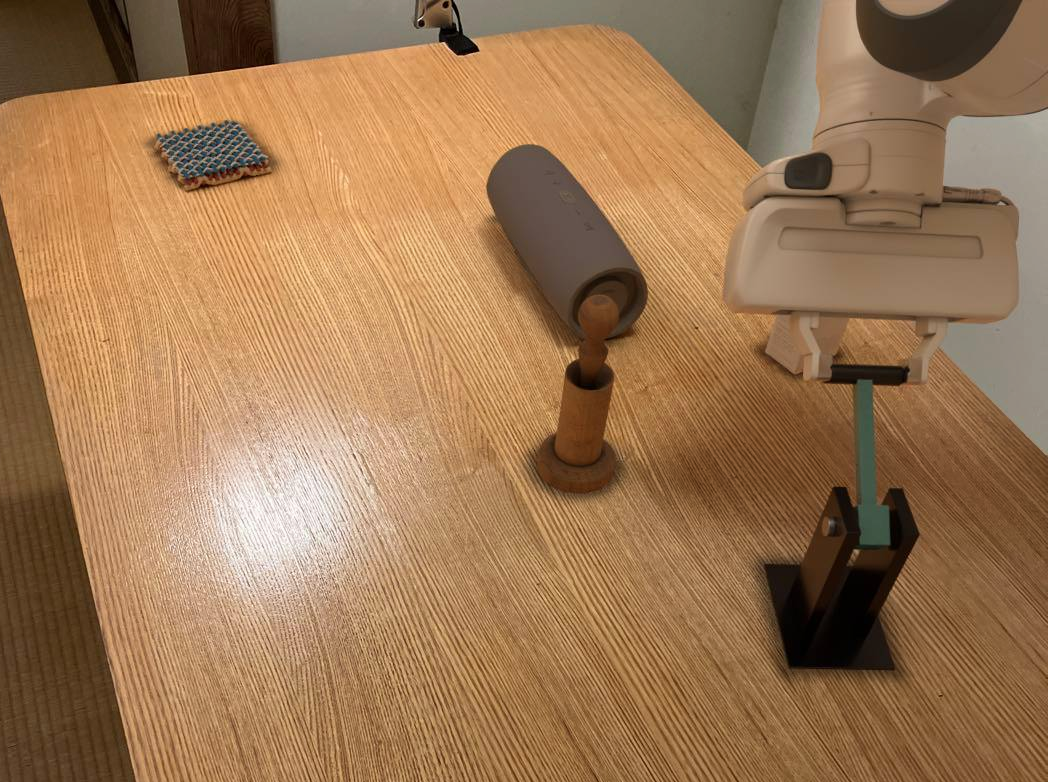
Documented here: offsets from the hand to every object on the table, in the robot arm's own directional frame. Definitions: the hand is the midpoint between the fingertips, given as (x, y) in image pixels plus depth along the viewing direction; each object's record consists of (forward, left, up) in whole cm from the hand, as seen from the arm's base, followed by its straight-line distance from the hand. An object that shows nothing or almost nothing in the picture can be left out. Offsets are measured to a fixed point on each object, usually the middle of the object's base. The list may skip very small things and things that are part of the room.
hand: (864, 382), depth 76 cm
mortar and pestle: (+19, +6, -17) cm, 26 cm away
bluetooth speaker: (+36, -16, -17) cm, 43 cm away
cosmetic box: (+11, -21, -17) cm, 30 cm away
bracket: (-5, +7, -17) cm, 19 cm away
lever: (-2, +3, -4) cm, 5 cm away
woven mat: (+79, -9, -17) cm, 81 cm away
